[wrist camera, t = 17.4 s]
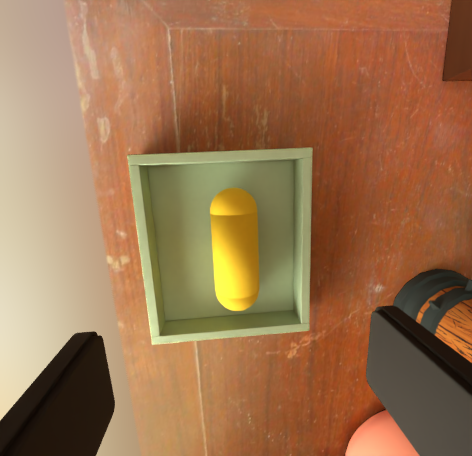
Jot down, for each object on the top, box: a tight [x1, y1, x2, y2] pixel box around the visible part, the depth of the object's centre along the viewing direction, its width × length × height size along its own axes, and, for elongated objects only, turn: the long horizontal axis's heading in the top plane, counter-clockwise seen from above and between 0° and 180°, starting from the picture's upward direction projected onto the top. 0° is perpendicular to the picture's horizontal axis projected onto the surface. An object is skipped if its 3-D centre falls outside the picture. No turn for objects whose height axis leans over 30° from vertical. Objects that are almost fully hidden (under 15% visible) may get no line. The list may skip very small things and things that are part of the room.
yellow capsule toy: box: [210, 188, 259, 311], centre depth 22 cm, size 11×4×4 cm, turn 3°
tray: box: [127, 147, 313, 345], centre depth 23 cm, size 17×15×3 cm
